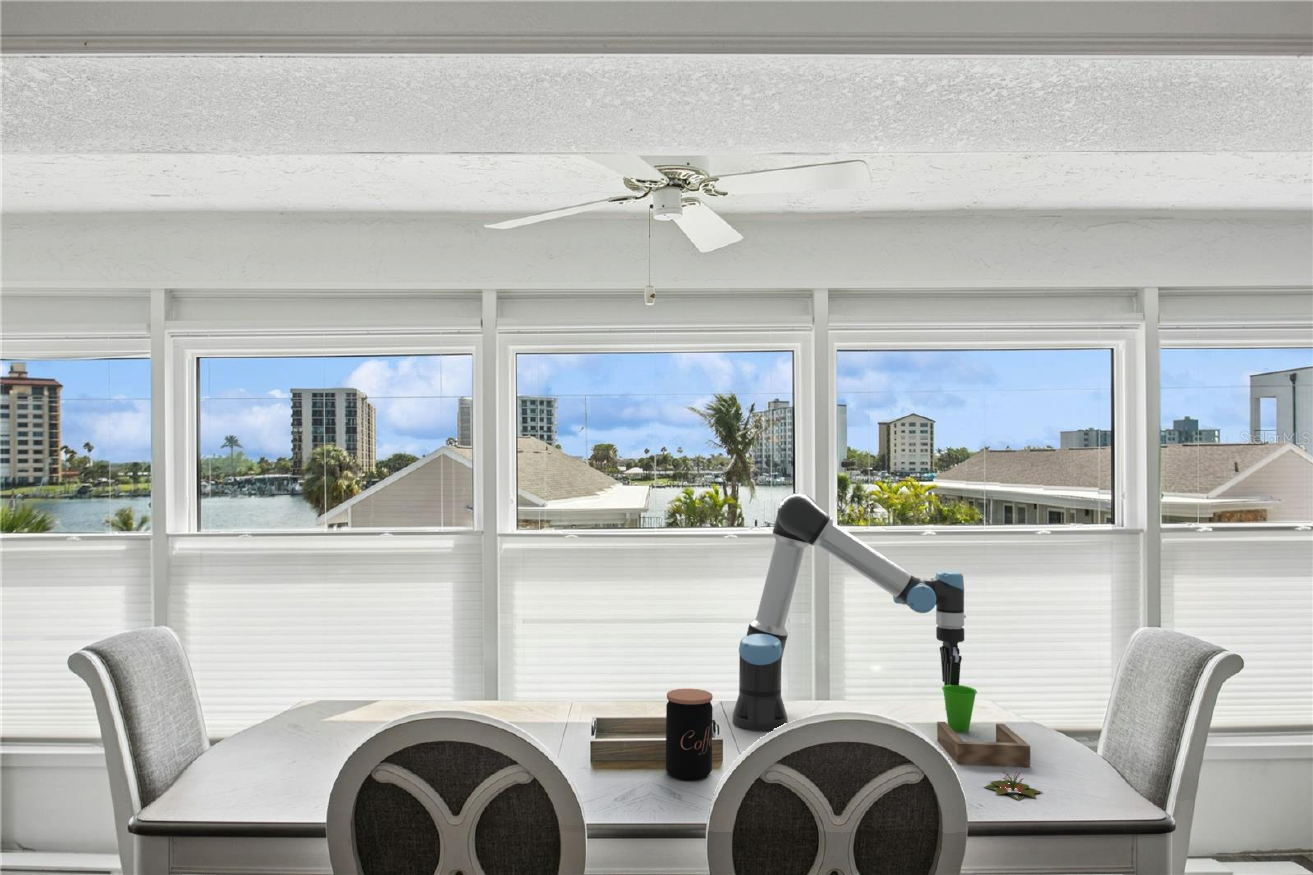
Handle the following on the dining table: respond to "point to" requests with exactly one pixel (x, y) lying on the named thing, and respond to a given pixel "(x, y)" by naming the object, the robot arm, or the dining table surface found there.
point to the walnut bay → (985, 748)
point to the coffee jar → (689, 734)
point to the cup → (959, 706)
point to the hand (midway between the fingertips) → (950, 710)
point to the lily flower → (1012, 787)
